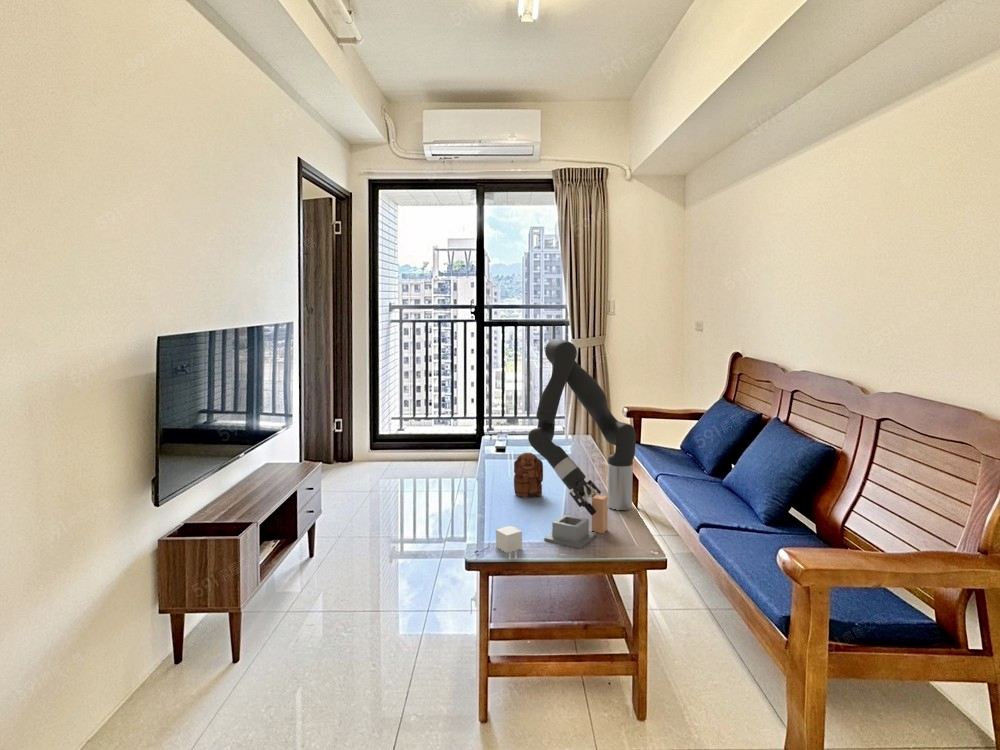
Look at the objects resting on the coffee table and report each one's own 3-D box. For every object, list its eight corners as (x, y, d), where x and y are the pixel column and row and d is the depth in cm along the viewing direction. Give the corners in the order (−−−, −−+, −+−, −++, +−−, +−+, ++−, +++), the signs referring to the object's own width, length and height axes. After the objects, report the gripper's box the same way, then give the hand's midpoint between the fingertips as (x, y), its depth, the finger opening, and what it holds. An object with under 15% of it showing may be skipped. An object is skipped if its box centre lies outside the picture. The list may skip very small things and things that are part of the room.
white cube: (510, 543, 188) (510, 525, 187) (522, 549, 183) (522, 531, 182) (495, 547, 184) (495, 529, 184) (507, 553, 179) (506, 535, 179)
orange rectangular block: (591, 531, 197) (592, 497, 196) (596, 527, 200) (596, 494, 199) (602, 533, 195) (603, 499, 194) (607, 530, 198) (607, 496, 197)
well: (544, 540, 189) (544, 523, 189) (562, 528, 200) (562, 511, 199) (580, 548, 182) (580, 530, 182) (596, 535, 193) (596, 518, 192)
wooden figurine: (515, 498, 234) (515, 455, 232) (513, 493, 240) (513, 451, 238) (544, 497, 235) (544, 454, 233) (541, 492, 241) (541, 450, 239)
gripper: (567, 471, 194) (598, 509, 189) (584, 462, 206) (614, 498, 201) (553, 484, 198) (583, 522, 192) (571, 474, 209) (600, 510, 204)
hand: (599, 510), depth 197 cm, fingers open, 8 cm apart
